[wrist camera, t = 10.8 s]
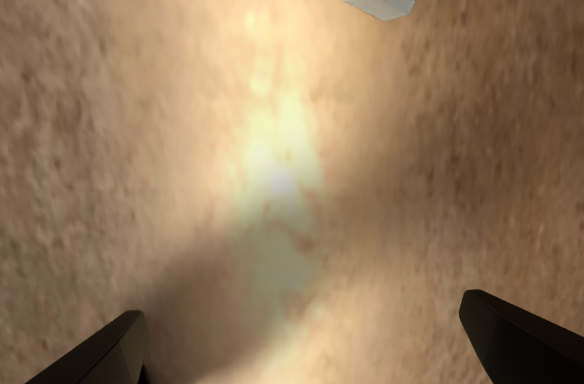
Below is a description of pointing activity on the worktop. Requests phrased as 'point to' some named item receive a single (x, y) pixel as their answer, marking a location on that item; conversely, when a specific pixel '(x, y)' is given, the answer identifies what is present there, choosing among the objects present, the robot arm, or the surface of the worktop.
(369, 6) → the white slotted block
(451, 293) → the worktop surface
